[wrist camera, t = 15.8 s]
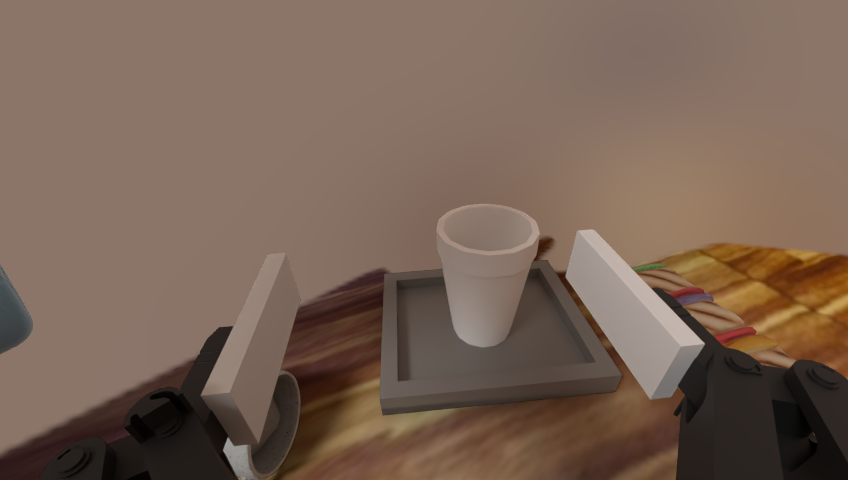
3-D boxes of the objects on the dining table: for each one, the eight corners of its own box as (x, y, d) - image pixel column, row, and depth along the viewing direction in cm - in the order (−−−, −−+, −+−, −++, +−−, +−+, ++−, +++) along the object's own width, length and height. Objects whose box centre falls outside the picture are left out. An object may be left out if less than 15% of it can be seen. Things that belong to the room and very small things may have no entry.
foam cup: (423, 326, 39) (416, 228, 32) (473, 287, 45) (477, 196, 38) (491, 375, 34) (500, 269, 27) (540, 323, 39) (558, 224, 32)
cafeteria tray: (382, 415, 32) (379, 399, 30) (386, 288, 47) (384, 273, 46) (615, 391, 33) (622, 375, 31) (544, 274, 48) (547, 260, 46)
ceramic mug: (228, 400, 34) (196, 348, 30) (308, 404, 33) (287, 352, 29) (148, 536, 25) (85, 491, 21) (254, 547, 24) (211, 502, 20)
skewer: (808, 405, 31) (842, 370, 28) (752, 425, 30) (781, 390, 27) (633, 270, 48) (644, 240, 45) (593, 279, 47) (601, 249, 44)
